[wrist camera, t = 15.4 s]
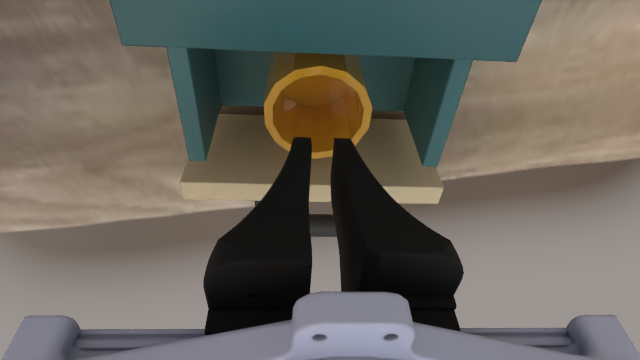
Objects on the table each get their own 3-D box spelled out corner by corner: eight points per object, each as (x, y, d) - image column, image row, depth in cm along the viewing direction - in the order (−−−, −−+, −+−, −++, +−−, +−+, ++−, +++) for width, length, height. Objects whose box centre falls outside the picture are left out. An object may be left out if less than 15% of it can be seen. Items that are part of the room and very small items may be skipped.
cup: (270, 107, 23) (265, 158, 20) (268, 20, 20) (261, 63, 16) (354, 109, 23) (363, 160, 20) (366, 25, 20) (379, 68, 17)
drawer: (398, 192, 29) (417, 262, 25) (214, 189, 28) (197, 261, 24) (474, -96, 18) (535, -65, 13) (166, -117, 17) (116, -92, 12)
